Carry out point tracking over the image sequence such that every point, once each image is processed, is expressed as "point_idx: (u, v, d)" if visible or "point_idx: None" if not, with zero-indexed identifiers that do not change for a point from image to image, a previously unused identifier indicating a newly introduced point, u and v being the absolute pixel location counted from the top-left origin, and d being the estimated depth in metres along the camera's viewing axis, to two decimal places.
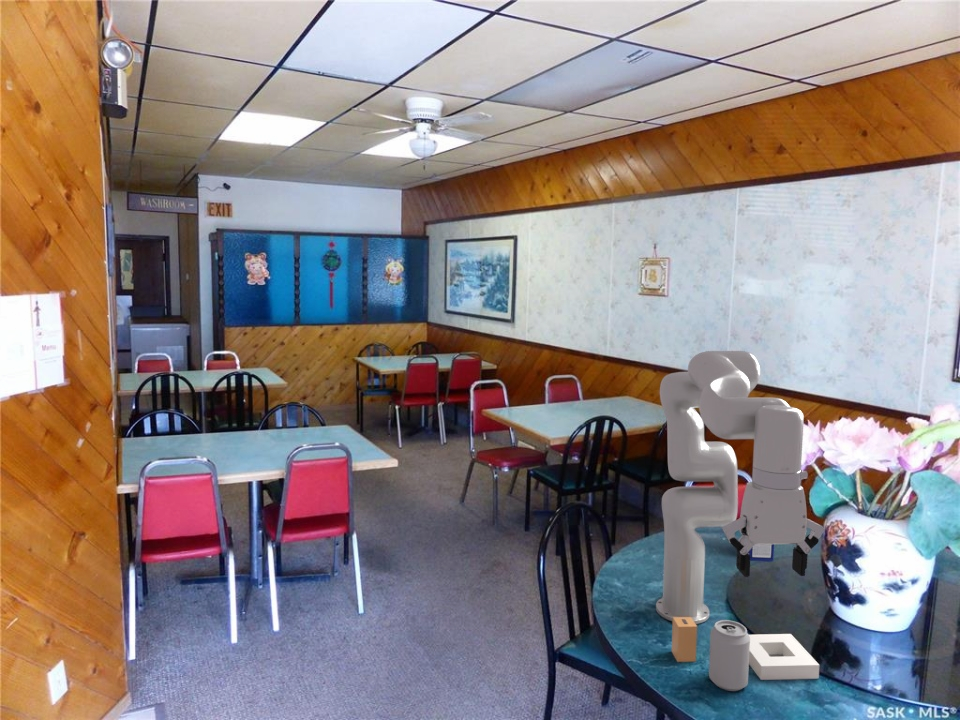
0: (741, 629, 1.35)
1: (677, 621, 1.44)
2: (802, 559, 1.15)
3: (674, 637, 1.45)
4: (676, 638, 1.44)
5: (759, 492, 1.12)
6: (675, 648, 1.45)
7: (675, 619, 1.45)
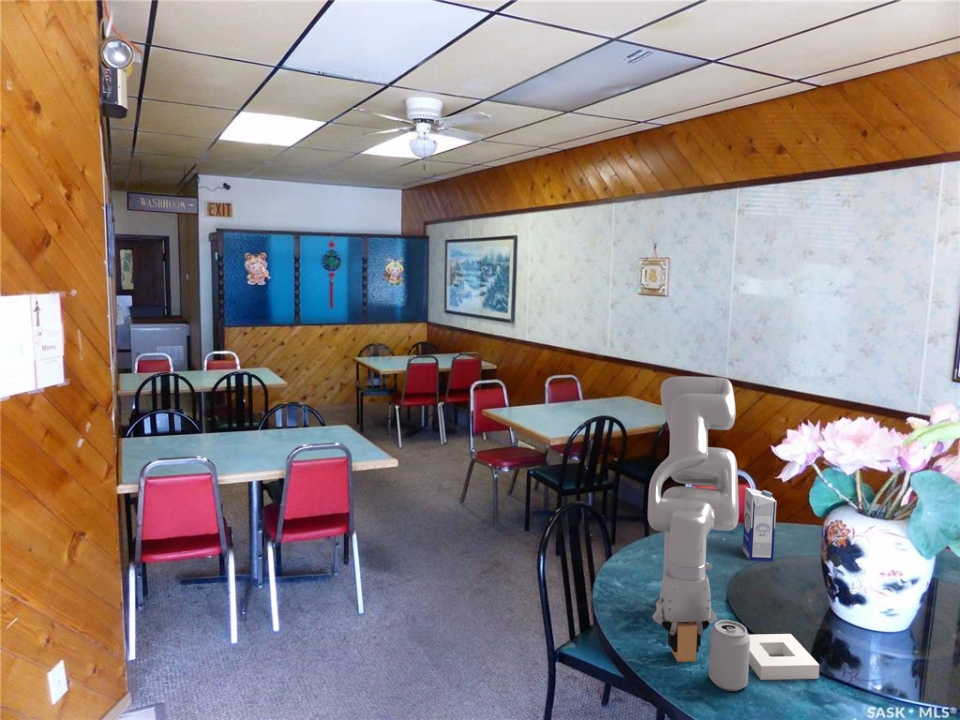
0: (741, 629, 1.35)
1: None
2: None
3: None
4: None
5: (672, 581, 1.41)
6: None
7: None
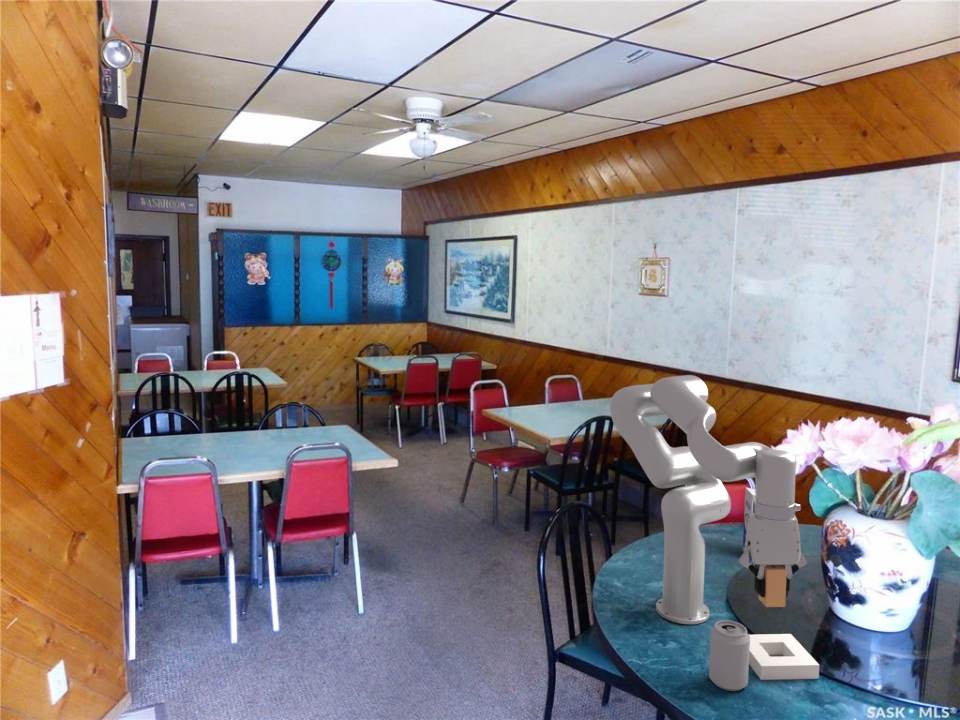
0: (741, 629, 1.35)
1: None
2: None
3: None
4: None
5: (760, 522, 1.37)
6: None
7: None
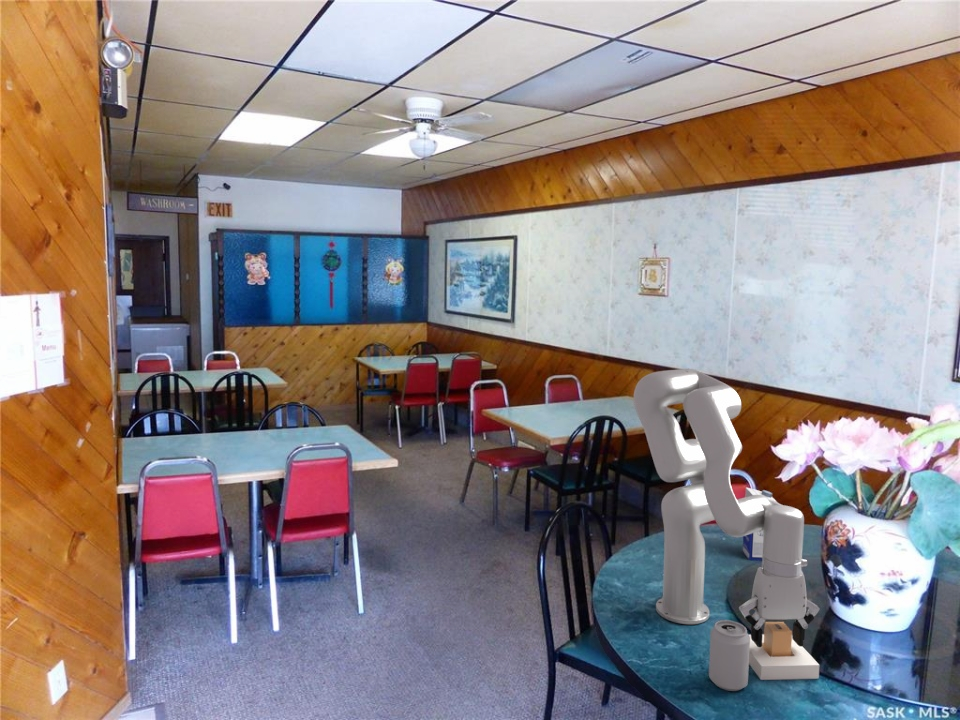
0: (741, 629, 1.35)
1: (770, 626, 1.42)
2: (801, 632, 1.41)
3: (766, 642, 1.43)
4: (769, 643, 1.41)
5: (768, 578, 1.38)
6: (768, 654, 1.42)
7: (768, 624, 1.43)
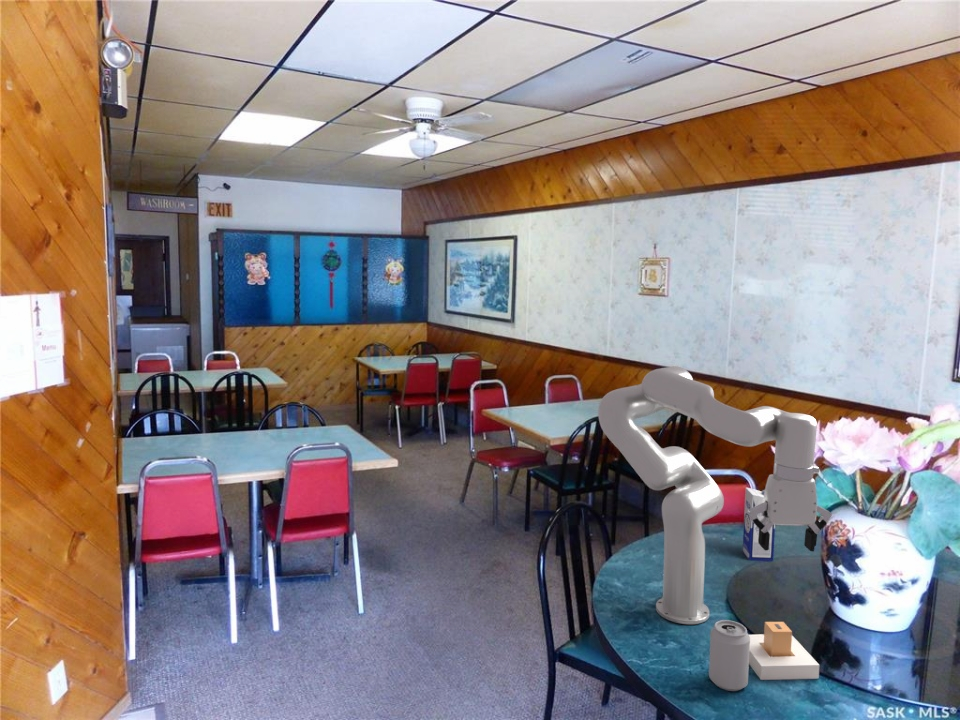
0: (741, 629, 1.35)
1: (770, 626, 1.42)
2: (813, 537, 1.42)
3: (766, 642, 1.43)
4: (769, 643, 1.41)
5: (778, 483, 1.40)
6: (768, 654, 1.42)
7: (768, 624, 1.43)
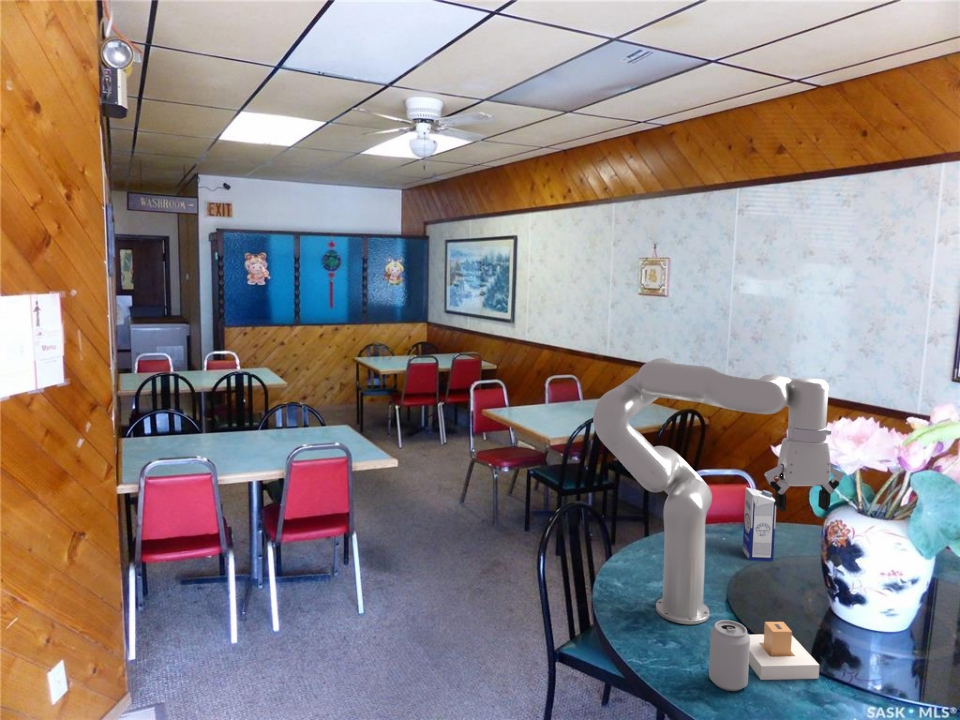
0: (741, 629, 1.35)
1: (770, 626, 1.42)
2: (827, 497, 1.48)
3: (766, 642, 1.43)
4: (769, 643, 1.41)
5: (793, 445, 1.45)
6: (768, 654, 1.42)
7: (768, 624, 1.43)
